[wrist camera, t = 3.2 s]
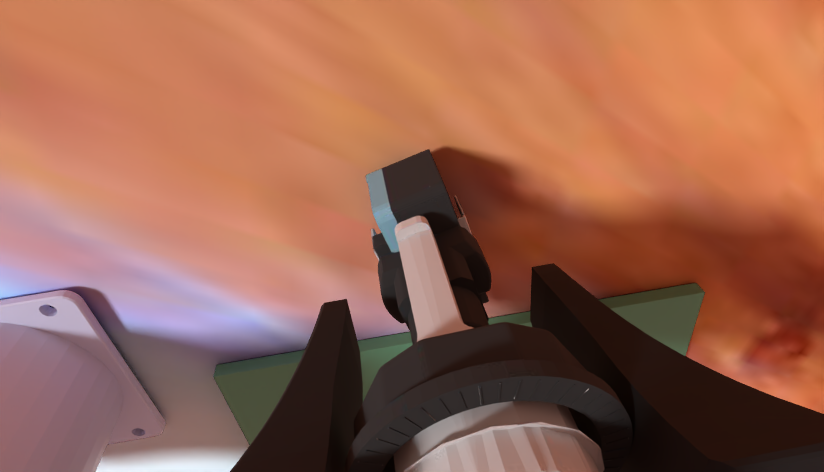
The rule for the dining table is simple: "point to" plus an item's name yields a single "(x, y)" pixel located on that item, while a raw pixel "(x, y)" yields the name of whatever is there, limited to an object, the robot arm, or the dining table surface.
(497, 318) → the circuit board
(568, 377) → the push button
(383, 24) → the dining table surface
